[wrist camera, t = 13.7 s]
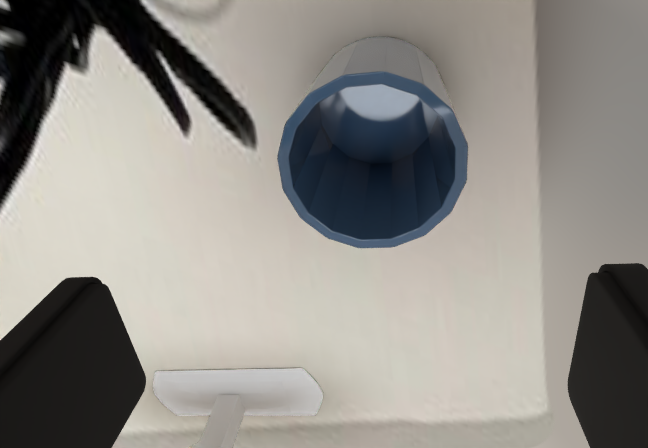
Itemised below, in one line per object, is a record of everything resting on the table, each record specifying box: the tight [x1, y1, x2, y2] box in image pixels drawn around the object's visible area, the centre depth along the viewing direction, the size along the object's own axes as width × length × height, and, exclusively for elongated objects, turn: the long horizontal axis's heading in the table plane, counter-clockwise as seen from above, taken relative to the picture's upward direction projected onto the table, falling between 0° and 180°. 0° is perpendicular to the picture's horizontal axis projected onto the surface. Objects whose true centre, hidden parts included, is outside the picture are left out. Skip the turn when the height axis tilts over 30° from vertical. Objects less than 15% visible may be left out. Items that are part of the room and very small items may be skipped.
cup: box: [277, 36, 468, 248], centre depth 19 cm, size 6×6×8 cm
